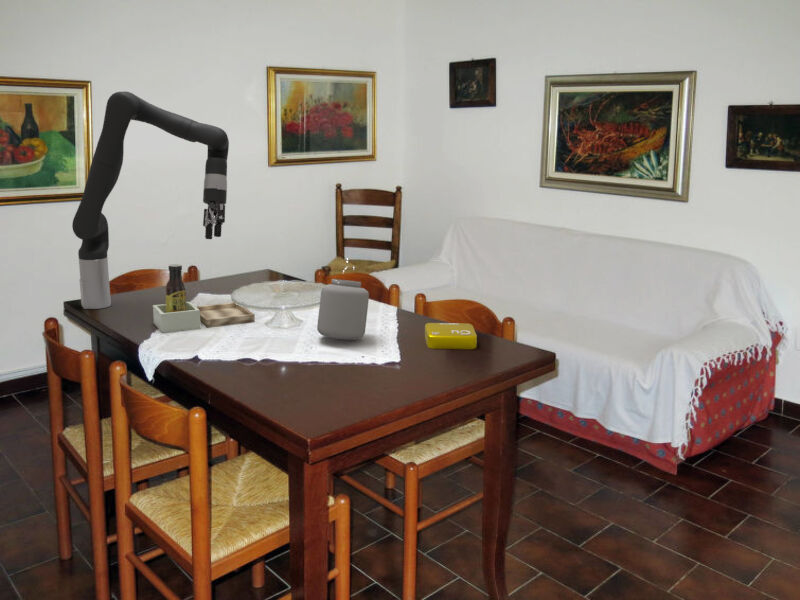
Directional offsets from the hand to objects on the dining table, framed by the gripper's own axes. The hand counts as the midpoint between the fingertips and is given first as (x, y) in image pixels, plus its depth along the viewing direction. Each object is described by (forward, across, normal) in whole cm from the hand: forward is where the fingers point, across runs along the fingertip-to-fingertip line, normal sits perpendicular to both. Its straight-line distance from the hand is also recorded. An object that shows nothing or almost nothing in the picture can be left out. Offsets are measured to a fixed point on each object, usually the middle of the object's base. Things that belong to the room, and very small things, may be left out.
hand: (212, 237), depth 252 cm
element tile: (+32, +54, +58) cm, 86 cm away
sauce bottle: (+30, -1, -10) cm, 31 cm away
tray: (+26, -3, +6) cm, 27 cm away
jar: (+32, +36, +31) cm, 57 cm away
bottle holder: (+29, -1, -10) cm, 31 cm away
